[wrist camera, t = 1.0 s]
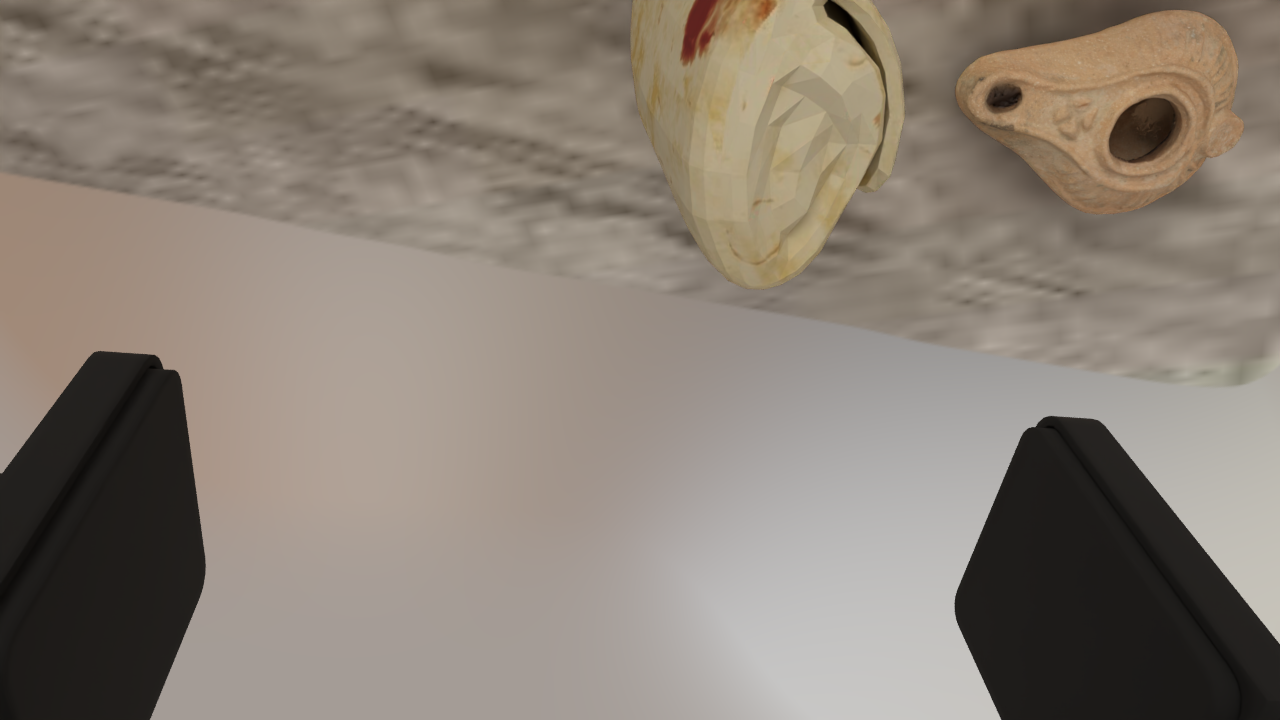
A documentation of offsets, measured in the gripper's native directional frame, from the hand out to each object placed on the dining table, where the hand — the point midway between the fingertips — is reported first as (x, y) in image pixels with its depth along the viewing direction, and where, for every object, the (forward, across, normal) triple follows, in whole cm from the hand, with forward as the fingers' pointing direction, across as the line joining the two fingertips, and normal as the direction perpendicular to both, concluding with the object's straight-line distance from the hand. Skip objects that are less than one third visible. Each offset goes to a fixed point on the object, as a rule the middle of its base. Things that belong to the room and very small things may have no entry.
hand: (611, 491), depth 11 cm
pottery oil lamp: (+35, -23, +3) cm, 42 cm away
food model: (+35, -6, +1) cm, 35 cm away
